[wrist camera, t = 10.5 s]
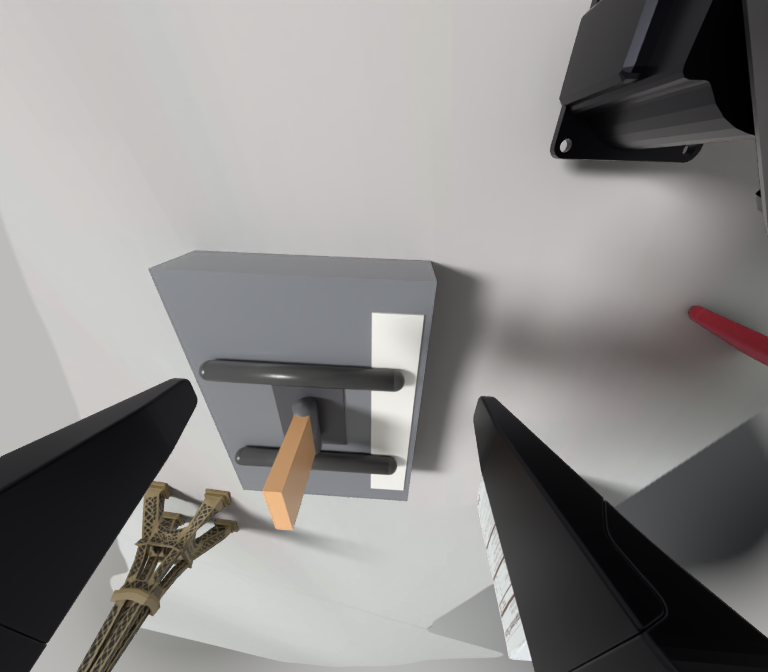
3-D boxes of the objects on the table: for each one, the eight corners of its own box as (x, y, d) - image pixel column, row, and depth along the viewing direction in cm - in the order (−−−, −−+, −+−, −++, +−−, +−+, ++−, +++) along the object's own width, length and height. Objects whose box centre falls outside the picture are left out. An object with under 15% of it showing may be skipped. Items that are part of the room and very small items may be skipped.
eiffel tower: (144, 479, 34) (-280, 988, 13) (228, 491, 35) (-48, 1003, 13) (165, 519, 40) (-107, 924, 18) (238, 529, 40) (54, 936, 19)
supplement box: (554, 466, 29) (647, 645, 18) (536, 504, 32) (604, 670, 22) (482, 464, 29) (531, 638, 18) (473, 501, 33) (509, 663, 22)
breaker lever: (318, 397, 19) (286, 490, 14) (324, 438, 21) (298, 532, 16) (296, 396, 19) (255, 488, 14) (304, 437, 21) (271, 530, 16)
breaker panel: (430, 260, 18) (440, 291, 13) (406, 462, 29) (407, 516, 25) (194, 250, 18) (126, 277, 14) (261, 453, 30) (236, 504, 25)
